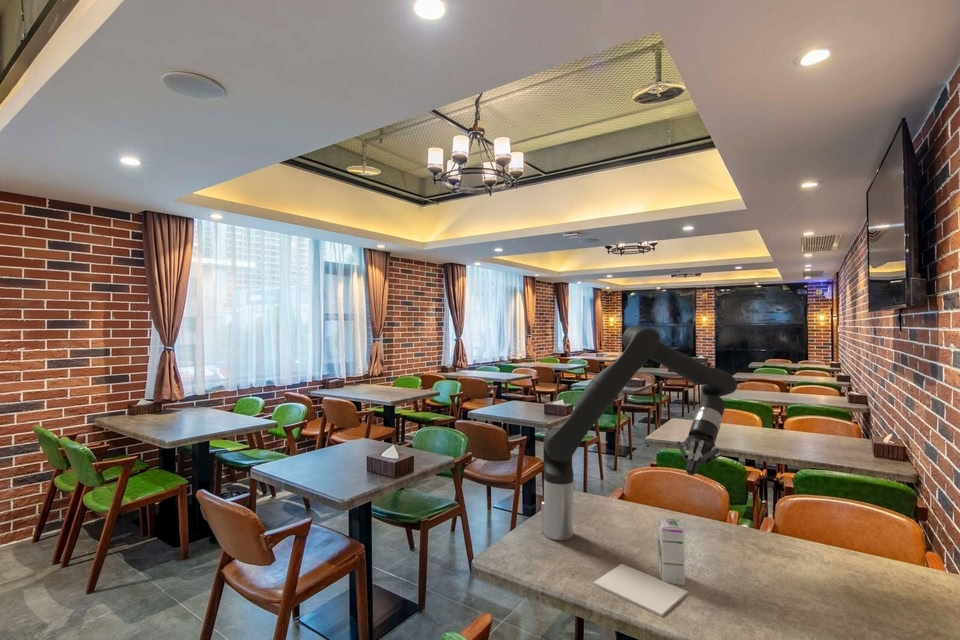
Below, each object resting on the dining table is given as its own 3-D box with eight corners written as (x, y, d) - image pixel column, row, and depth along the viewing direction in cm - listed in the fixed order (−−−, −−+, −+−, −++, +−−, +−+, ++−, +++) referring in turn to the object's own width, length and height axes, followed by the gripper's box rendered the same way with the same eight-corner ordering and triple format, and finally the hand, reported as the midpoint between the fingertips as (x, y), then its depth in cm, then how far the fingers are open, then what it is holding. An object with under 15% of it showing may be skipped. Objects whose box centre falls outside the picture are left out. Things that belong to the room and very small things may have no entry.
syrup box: (685, 585, 118) (685, 528, 118) (661, 582, 119) (661, 525, 119) (680, 574, 123) (680, 519, 124) (657, 571, 124) (657, 517, 125)
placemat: (593, 584, 118) (593, 582, 118) (621, 566, 127) (621, 563, 127) (661, 616, 104) (661, 614, 104) (687, 593, 114) (687, 591, 114)
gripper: (680, 415, 146) (663, 461, 137) (725, 421, 137) (710, 471, 128) (687, 429, 150) (671, 475, 141) (731, 436, 140) (717, 486, 131)
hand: (689, 473), depth 134 cm, fingers closed
